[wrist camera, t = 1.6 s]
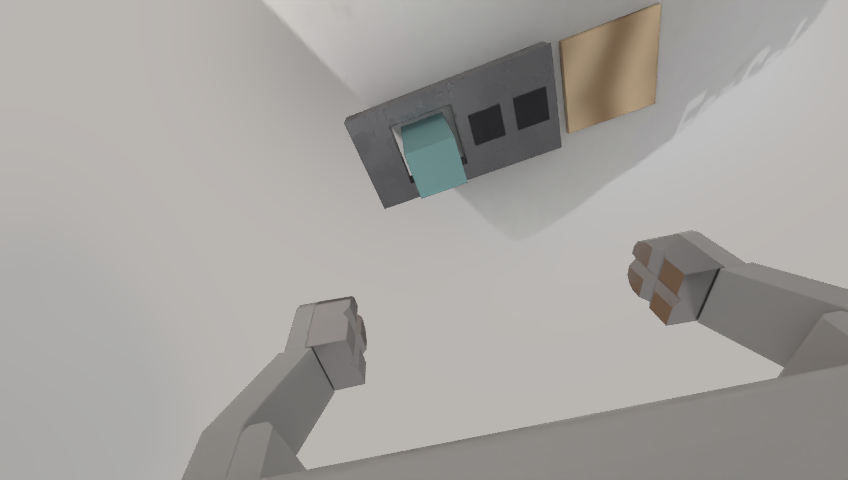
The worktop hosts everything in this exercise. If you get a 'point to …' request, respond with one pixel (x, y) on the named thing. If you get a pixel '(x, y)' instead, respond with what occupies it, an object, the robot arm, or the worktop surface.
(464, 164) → the grey slotted board
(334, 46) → the worktop surface
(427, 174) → the upright teal block
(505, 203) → the worktop surface
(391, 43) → the worktop surface
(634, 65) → the pad
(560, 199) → the worktop surface
